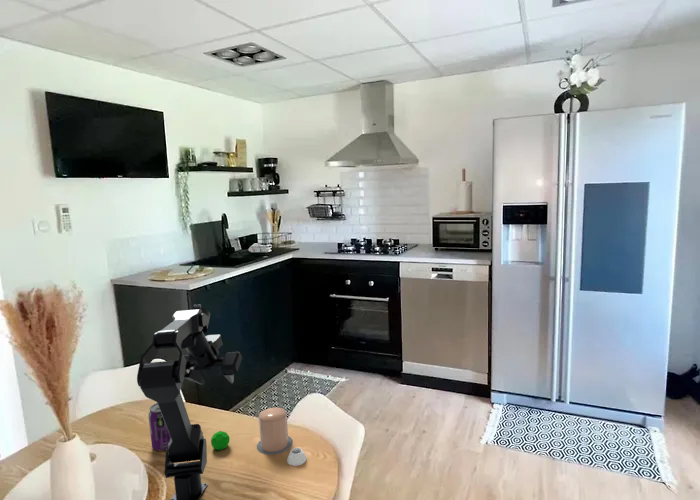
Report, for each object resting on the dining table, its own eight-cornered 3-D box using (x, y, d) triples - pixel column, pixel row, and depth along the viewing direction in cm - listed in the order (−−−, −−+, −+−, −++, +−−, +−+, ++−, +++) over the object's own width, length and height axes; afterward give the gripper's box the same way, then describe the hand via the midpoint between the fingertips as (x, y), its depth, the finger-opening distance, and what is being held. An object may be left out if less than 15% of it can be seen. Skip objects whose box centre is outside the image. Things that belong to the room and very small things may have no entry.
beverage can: (169, 453, 122) (164, 412, 120) (146, 451, 123) (142, 411, 122) (183, 439, 129) (179, 400, 127) (162, 437, 130) (158, 399, 129)
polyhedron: (208, 451, 122) (206, 435, 122) (220, 442, 127) (218, 426, 126) (221, 455, 120) (220, 438, 119) (233, 445, 124) (232, 429, 124)
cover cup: (284, 451, 119) (282, 420, 118) (258, 451, 120) (255, 420, 119) (290, 436, 127) (288, 407, 126) (265, 436, 128) (263, 407, 126)
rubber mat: (287, 455, 118) (287, 454, 118) (252, 455, 119) (251, 454, 119) (296, 435, 128) (296, 434, 128) (263, 435, 129) (262, 434, 129)
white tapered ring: (285, 458, 117) (290, 469, 113) (284, 448, 117) (289, 458, 112) (303, 453, 119) (308, 463, 114) (302, 443, 119) (308, 453, 114)
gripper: (238, 322, 124) (255, 359, 133) (178, 327, 128) (198, 362, 136) (226, 353, 116) (245, 390, 124) (162, 357, 119) (184, 393, 127)
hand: (218, 382), depth 128 cm, fingers open, 9 cm apart
